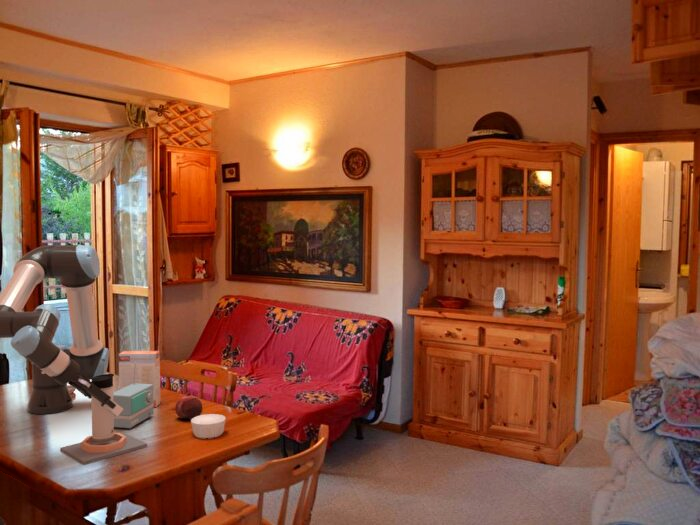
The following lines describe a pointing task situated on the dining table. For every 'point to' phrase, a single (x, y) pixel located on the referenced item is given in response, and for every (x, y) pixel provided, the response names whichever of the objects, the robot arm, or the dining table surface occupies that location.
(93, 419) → the travel mug
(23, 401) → the dining table surface
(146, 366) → the cracker box
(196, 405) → the fruit
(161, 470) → the dining table surface
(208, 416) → the ramekin
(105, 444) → the mug stand
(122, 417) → the radio
